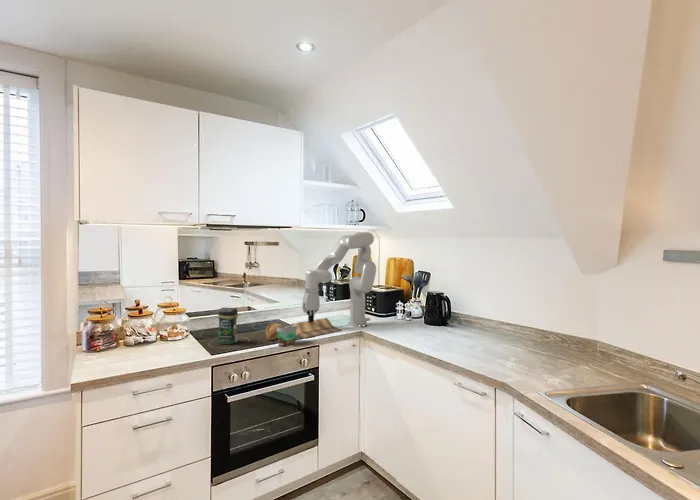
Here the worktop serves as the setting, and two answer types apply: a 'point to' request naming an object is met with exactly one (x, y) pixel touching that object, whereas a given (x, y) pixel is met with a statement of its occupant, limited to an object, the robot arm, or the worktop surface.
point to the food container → (286, 335)
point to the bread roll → (272, 331)
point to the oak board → (313, 325)
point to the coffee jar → (227, 325)
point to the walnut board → (319, 332)
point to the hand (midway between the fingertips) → (310, 321)
